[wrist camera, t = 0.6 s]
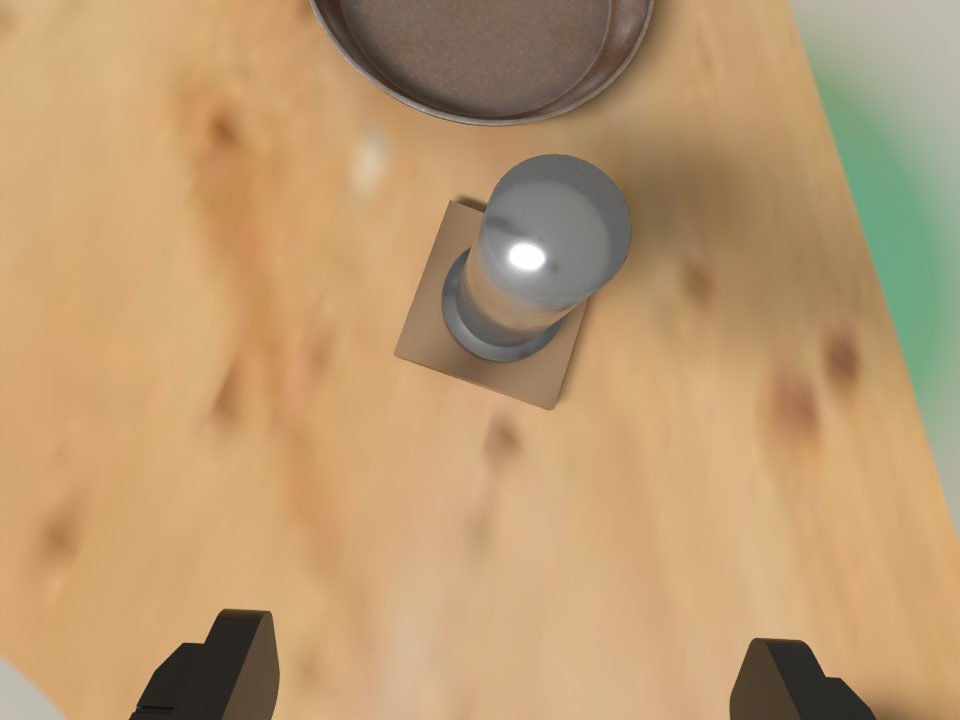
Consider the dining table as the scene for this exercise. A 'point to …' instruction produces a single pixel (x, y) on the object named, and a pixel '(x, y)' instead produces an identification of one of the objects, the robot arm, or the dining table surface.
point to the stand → (439, 351)
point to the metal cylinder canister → (535, 257)
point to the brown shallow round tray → (487, 52)
